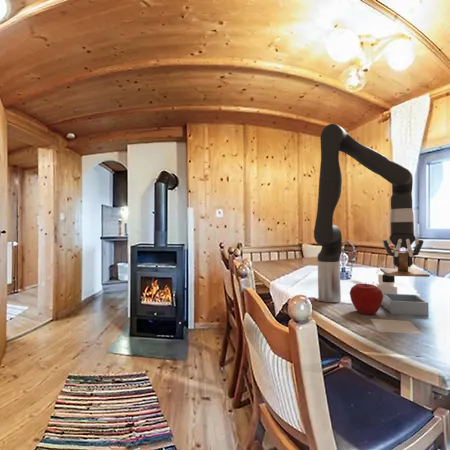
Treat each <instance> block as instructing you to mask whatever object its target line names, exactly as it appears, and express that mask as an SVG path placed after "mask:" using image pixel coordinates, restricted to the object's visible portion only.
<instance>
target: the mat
mask: <svg viewBox="0 0 450 450" xmlns="http://www.w3.org/2000/svg"><path fill="white" fill-rule="evenodd" d="M370 322H372V323H371V324H372V325H373V327H374V328H375V329H376V331H377V332H379V333H380V332H384V333H394V334H395V333H396V334H411V335H424V334H423V333H422V332H421V331H420V330H419V329H418V328H417V326H415V325H414V324H413V323H412V322H411V321H410V320H397V319H381V318H370Z"/></svg>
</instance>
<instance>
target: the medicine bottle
mask: <svg viewBox="0 0 450 450" xmlns="http://www.w3.org/2000/svg"><path fill="white" fill-rule="evenodd" d="M377 278H378V279H377V280H378V281H377V283H376V286H377V287H378V288H379V289H380V290H381V291H382V294H383V293H385V294H398V286H397V285H396V283H395V281H396V280H395V278H396V276H388V275H386V274H385V273H383V272H380V273H378V274H377ZM381 304H383V299H382V303H381Z"/></svg>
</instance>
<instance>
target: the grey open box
mask: <svg viewBox="0 0 450 450" xmlns="http://www.w3.org/2000/svg"><path fill="white" fill-rule="evenodd" d="M382 307H383V308H384V309H386V310H387V311H388V313H390V314H392V315H393V314H395V315H409V316H411V315H412V316H429V315H430V313H429V302H427V301H426V300H425V299H424V298H422V297H420V296H419V295H418V294H408V293H407V294H405V293H402V294H401V293H397V294H385V293H383V303H382Z"/></svg>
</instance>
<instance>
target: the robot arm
mask: <svg viewBox="0 0 450 450" xmlns="http://www.w3.org/2000/svg"><path fill="white" fill-rule="evenodd" d="M340 152H341V153H343V154H346V155H348V156H349V157H351V158H352V159H353V160H355V161H356V162H358V163H359V164H361V165H362V167H365V168H366V169H368V170H369V171H371V172H372V173H374V174H376V175H379V176H380V177H381V178H383V180H385V181H387V182H388V183H390V184H391V190H392V191H391V196H390V215H389V216H390V217H389V221H390V222H389V223H390V235H389V238H387V239H382V240H381V242H382V244H383V246H384V249H385V251H386V253H387V254H388V255H390V256H392V261H393V262H392V264H393V266H395V268H398V267H399V257H398V253H399V252H400V251H401V249H403V248H404V250H405V251H406V252H407V253H408V268H411V267H412V266H413V262H414V261H413V257H416V256H418V255H419V254H420V251H421V250H422V246H423V245H424V240H423V239H418V238H417V237H416V236H415V226H414V222H415V221H414V220H415V219H414V211H413V210H414V209H413V197H412V196H413V195H412V193H413V183H414V182H413V181H414V180H413V179H414V178H413V174H412V172H411V171H410V170H409V169H408V168H407V167H404V166H403V165H402V164H399V163H397V162H395V161H392V160H391V159H390V158H388V157H387V156H386V155H383V154H382V153H380V152H379V151H376V150H374V149H373V148H371V147H368V146H366V145H364V144H362V143H360V142H359V141H357V140H356V139H354V138H353V137H352V136H351V135H350V134H349V133H348V132H347V131H346V130H345V129H344V128H343V127H341V126H340V125H338V124H336V123H329V124H327V125H326V126H324V128H323V129H322V131H321V132H320V168H319V178H318V196H317V197H318V198H317V208H316V209H317V210H316V217H315V223H314V224H315V225H314V230H313V238H314V241H315V242H316V244H317V245H319V246H320V247H321V249H320V252H319V253H318V254H317V290H318V292H317V293H318V295H317V297H318V299H317V300H318V301H319V302H324V303H339V302H341V301H342V299H341V298H342V295H341V294H342V293H341V292H342V291H341V289H342V288H341V261H340V260H341V254H342V247H343V244H342V242H343V241H342V239H343V237H342V235H343V234H342V231H341V228H340V227H339V226H338V225H336V224H334V223H333V221H334V214H335V213H334V212H335V210H336V208H337V206H338V202H339V200H340V198H341V193H342V186H343V185H342V183H343V182H342V181H343V179H342V178H343V177H342V170H341V165H340V162H339V161H340V158H339V156H340V154H339V153H340ZM414 242H415V243H414ZM391 244H393V251H392V249H391V247H390V245H391ZM413 244H414V245H415V246H414V249H412V245H413Z"/></svg>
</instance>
